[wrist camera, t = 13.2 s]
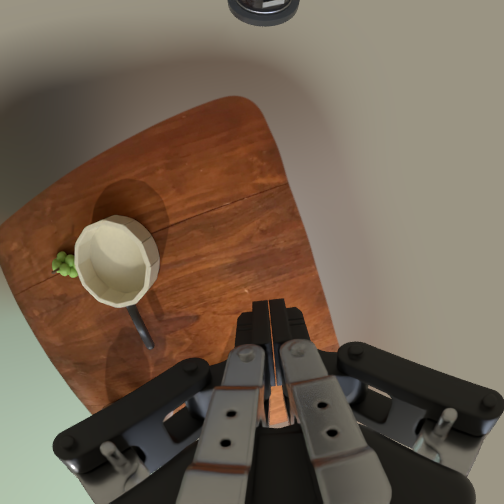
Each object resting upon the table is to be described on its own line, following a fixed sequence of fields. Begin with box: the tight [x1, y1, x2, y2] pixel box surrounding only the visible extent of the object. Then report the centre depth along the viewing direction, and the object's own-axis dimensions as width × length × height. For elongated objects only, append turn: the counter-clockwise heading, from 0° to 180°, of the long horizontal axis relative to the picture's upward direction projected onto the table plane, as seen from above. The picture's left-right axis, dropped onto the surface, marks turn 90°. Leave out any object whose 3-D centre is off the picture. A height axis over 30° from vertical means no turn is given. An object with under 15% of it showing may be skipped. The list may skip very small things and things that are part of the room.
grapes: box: [52, 251, 78, 277], centre depth 41 cm, size 7×5×6 cm, turn 66°
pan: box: [75, 215, 160, 350], centre depth 42 cm, size 23×14×5 cm, turn 16°
